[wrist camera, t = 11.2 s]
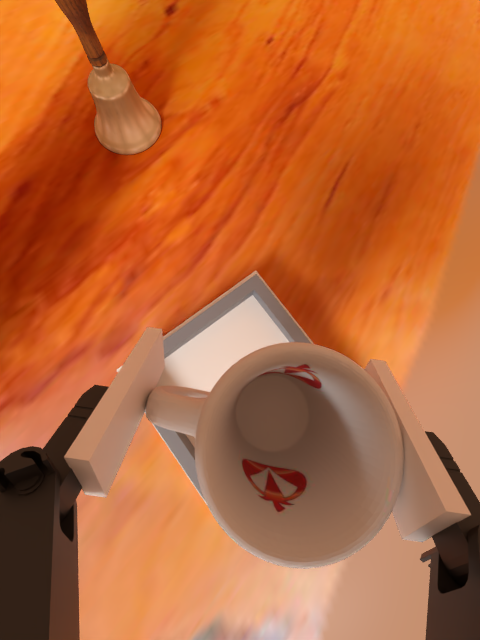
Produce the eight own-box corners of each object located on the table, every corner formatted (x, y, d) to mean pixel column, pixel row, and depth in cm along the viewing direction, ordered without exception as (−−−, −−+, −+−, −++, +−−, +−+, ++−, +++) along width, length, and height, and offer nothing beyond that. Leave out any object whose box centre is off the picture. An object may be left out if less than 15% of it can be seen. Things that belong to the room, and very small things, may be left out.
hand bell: (111, 165, 31) (-16, -41, 15) (85, 113, 32) (-58, -130, 16) (172, 139, 32) (114, -81, 16) (145, 90, 33) (65, -162, 17)
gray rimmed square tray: (121, 369, 27) (106, 370, 24) (255, 274, 29) (257, 263, 26) (221, 518, 25) (220, 540, 22) (356, 403, 27) (373, 408, 24)
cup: (157, 450, 16) (89, 530, 9) (186, 332, 18) (149, 308, 10) (318, 484, 16) (397, 596, 9) (335, 363, 18) (416, 363, 10)
